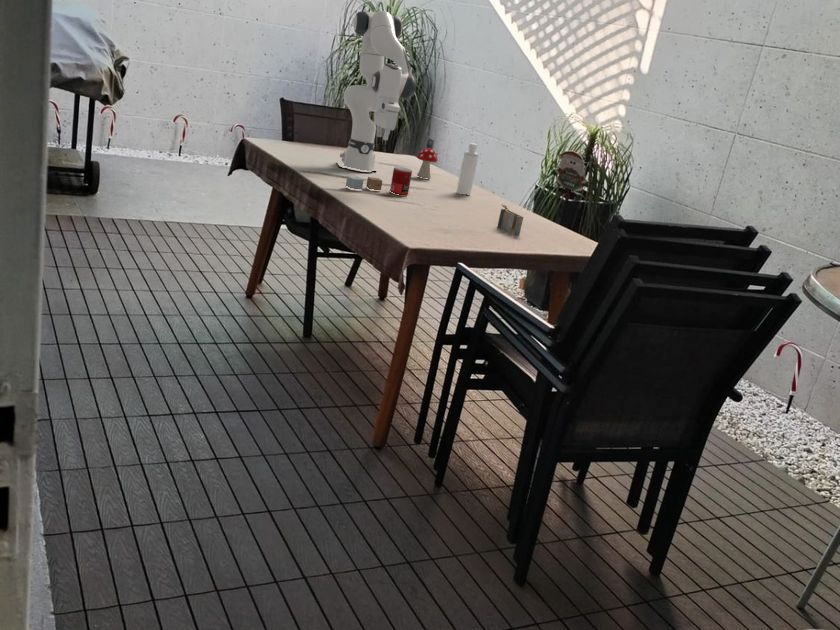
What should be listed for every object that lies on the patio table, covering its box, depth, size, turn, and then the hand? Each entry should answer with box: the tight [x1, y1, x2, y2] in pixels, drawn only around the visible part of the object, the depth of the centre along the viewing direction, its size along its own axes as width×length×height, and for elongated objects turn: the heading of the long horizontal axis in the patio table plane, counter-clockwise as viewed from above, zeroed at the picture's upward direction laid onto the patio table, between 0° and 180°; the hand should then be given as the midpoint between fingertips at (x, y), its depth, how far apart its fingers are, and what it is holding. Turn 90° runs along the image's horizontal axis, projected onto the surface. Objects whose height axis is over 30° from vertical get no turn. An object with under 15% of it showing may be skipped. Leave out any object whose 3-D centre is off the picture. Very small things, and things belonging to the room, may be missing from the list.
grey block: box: [345, 176, 365, 190], centre depth 337 cm, size 5×5×5 cm
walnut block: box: [365, 176, 383, 190], centre depth 344 cm, size 5×5×5 cm
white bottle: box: [456, 142, 479, 196], centre depth 374 cm, size 7×7×25 cm
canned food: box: [389, 166, 413, 196], centre depth 346 cm, size 8×8×11 cm
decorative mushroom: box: [416, 147, 438, 180], centre depth 398 cm, size 10×9×15 cm
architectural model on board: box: [497, 203, 524, 236], centre depth 314 cm, size 11×3×10 cm, turn 30°
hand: (382, 138), depth 338 cm, fingers open, 8 cm apart
